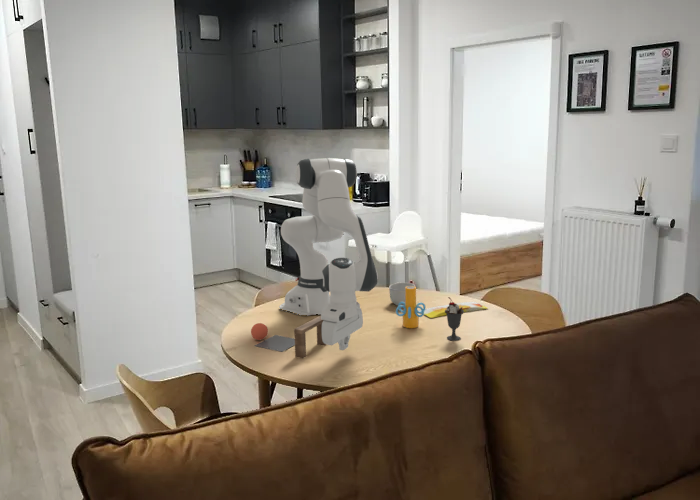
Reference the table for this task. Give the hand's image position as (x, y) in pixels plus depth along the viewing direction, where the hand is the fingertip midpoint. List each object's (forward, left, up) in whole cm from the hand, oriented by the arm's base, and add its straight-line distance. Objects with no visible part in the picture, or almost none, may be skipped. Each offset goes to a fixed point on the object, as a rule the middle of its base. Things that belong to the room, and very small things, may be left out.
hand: (343, 348), depth 204 cm
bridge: (-13, 0, -3) cm, 13 cm away
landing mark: (-27, 0, -3) cm, 27 cm away
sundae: (+25, +33, -3) cm, 42 cm away
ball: (-35, 0, 0) cm, 35 cm away
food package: (+13, +63, -4) cm, 64 cm away
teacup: (-10, +63, -3) cm, 64 cm away
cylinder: (+6, +38, -3) cm, 38 cm away
